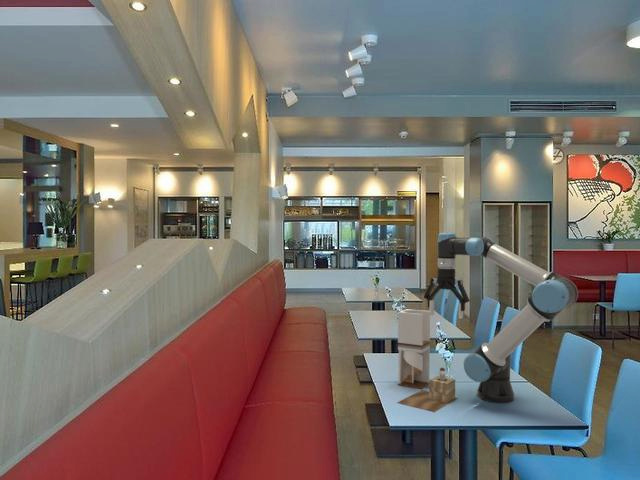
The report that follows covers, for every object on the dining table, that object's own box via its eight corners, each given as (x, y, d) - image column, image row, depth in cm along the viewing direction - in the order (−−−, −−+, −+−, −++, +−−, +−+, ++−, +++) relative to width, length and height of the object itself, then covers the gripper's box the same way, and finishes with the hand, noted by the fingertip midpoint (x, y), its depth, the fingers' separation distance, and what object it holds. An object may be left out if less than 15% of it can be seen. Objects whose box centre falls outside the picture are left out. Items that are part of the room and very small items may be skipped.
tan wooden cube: (455, 398, 219) (455, 379, 219) (446, 403, 213) (447, 383, 213) (437, 394, 224) (437, 375, 224) (429, 398, 218) (429, 380, 218)
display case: (397, 388, 236) (398, 312, 236) (405, 382, 246) (406, 309, 245) (421, 392, 231) (422, 314, 230) (429, 386, 240) (430, 311, 239)
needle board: (458, 401, 219) (458, 367, 219) (434, 416, 202) (434, 378, 202) (422, 393, 230) (422, 360, 230) (396, 406, 213) (396, 371, 212)
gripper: (416, 267, 230) (416, 314, 231) (470, 270, 215) (470, 321, 216) (424, 266, 236) (423, 312, 237) (477, 269, 221) (476, 318, 221)
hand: (445, 316), depth 226 cm, fingers open, 13 cm apart
